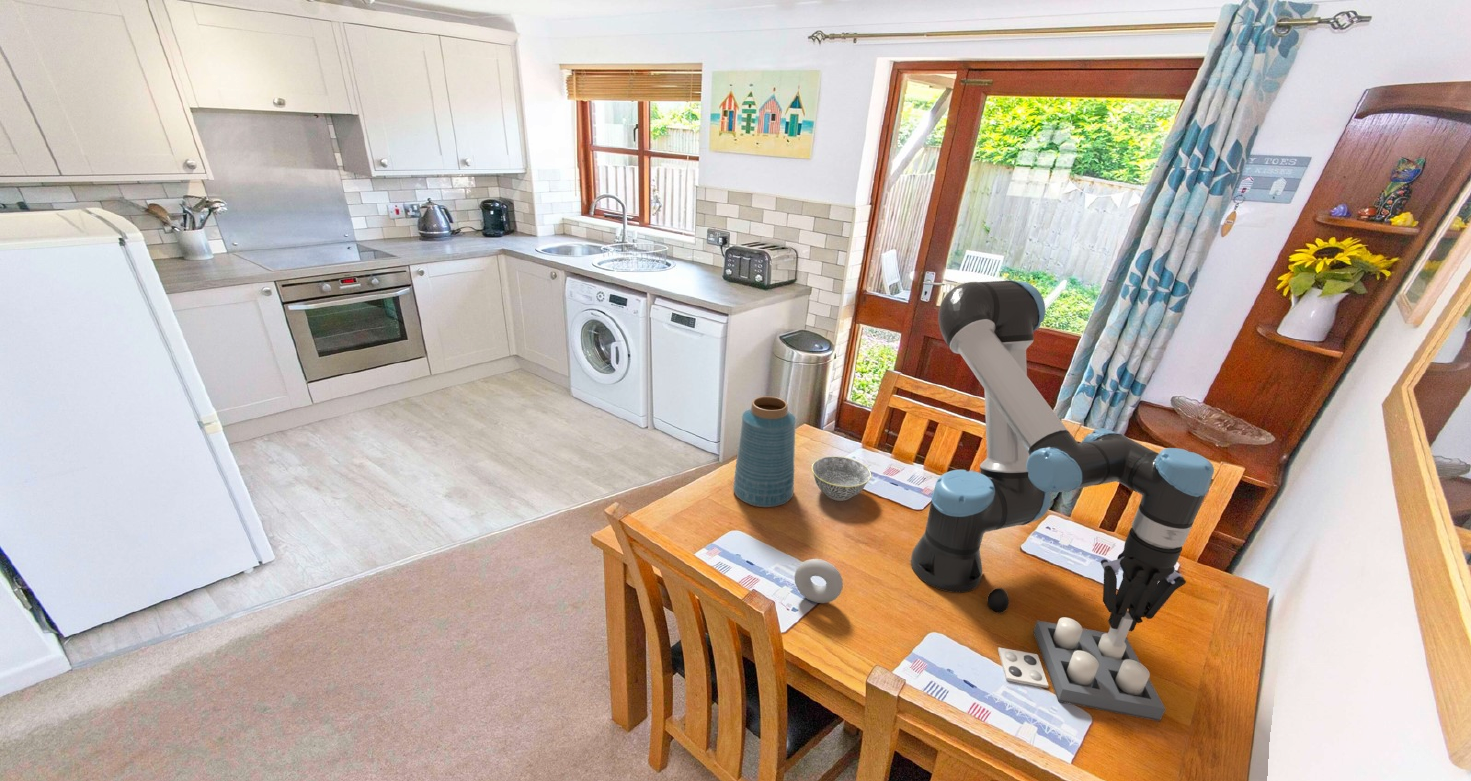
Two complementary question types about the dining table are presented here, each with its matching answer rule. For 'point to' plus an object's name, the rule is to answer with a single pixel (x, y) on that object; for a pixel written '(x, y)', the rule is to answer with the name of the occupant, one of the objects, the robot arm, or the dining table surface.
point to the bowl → (840, 477)
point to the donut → (822, 570)
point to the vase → (766, 453)
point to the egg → (998, 600)
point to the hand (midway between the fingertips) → (1114, 640)
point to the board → (1104, 685)
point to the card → (1022, 667)
